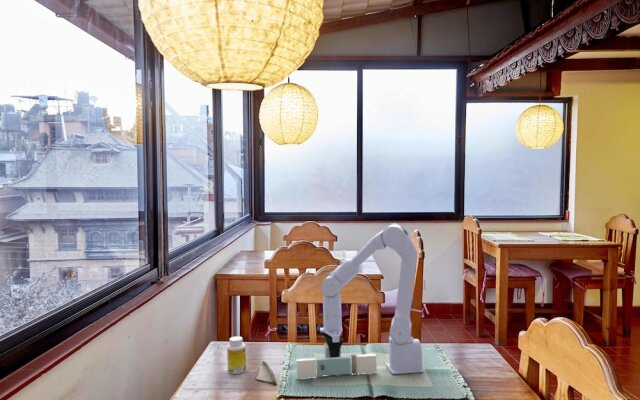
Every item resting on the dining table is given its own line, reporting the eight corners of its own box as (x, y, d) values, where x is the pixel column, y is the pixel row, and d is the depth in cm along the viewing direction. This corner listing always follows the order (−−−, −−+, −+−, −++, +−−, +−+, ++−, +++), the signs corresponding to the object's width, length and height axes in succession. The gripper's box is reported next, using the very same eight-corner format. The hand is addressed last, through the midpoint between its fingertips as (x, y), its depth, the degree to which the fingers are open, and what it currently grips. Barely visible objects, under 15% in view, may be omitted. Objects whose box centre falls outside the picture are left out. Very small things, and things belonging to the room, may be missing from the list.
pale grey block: (338, 358, 150) (338, 342, 150) (340, 364, 146) (340, 347, 145) (324, 360, 150) (324, 343, 149) (326, 365, 145) (326, 348, 145)
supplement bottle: (247, 373, 143) (246, 340, 142) (229, 376, 141) (228, 342, 140) (244, 366, 148) (243, 334, 147) (226, 369, 146) (225, 336, 146)
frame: (375, 371, 142) (375, 352, 141) (376, 373, 140) (376, 354, 140) (297, 377, 139) (296, 358, 139) (297, 379, 137) (296, 360, 137)
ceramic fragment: (277, 386, 134) (277, 372, 134) (260, 389, 132) (259, 375, 132) (266, 368, 147) (265, 356, 147) (250, 371, 146) (249, 358, 145)
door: (350, 372, 140) (349, 356, 140) (351, 375, 138) (351, 359, 138) (317, 375, 139) (316, 358, 139) (318, 378, 137) (317, 361, 137)
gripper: (317, 308, 154) (318, 349, 154) (322, 322, 139) (323, 367, 140) (338, 307, 154) (339, 347, 155) (345, 320, 140) (346, 365, 141)
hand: (333, 356), depth 148 cm, fingers closed on pale grey block, 4 cm apart
